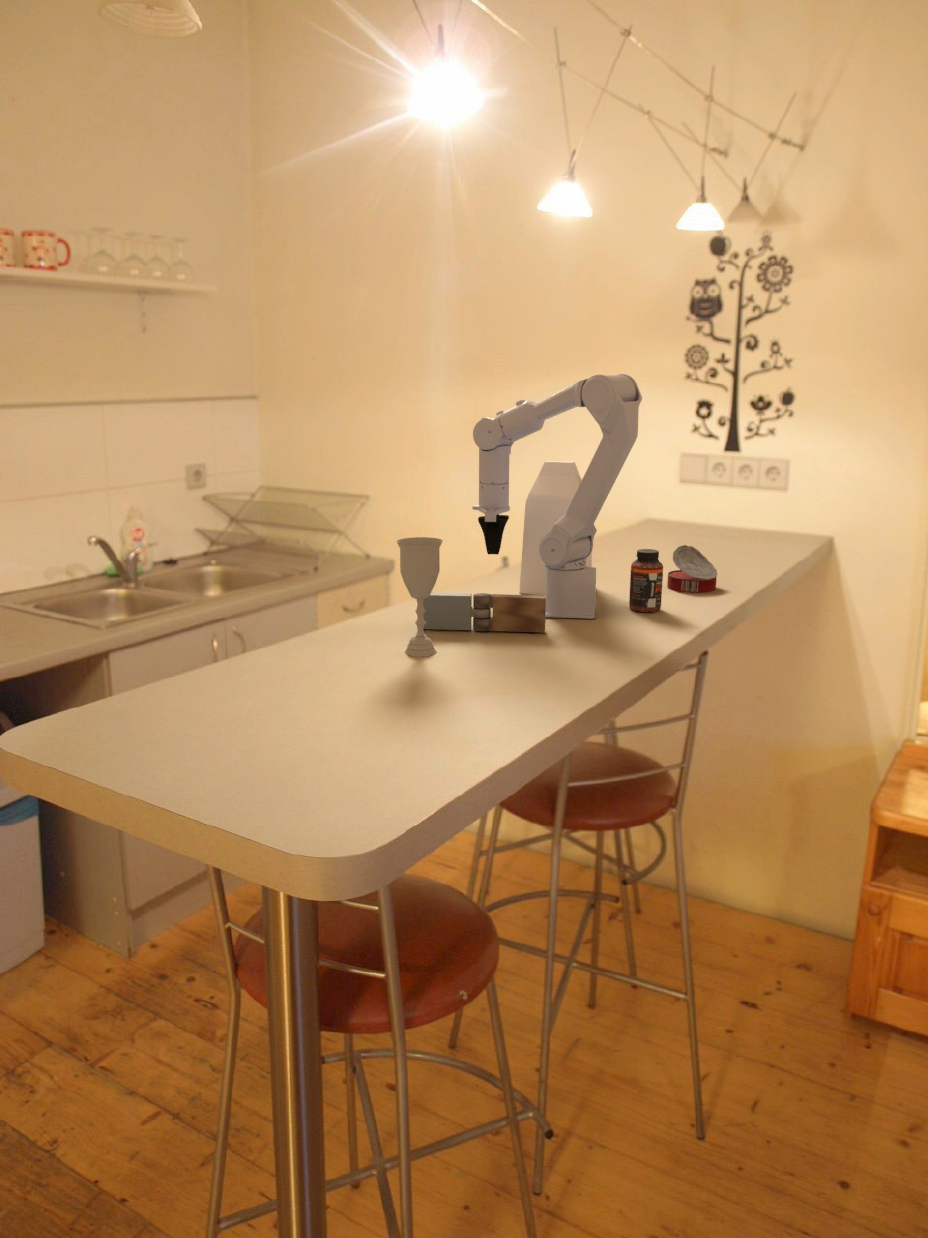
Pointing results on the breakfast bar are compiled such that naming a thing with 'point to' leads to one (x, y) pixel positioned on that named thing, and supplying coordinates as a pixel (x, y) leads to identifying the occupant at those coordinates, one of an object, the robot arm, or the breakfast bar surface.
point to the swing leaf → (451, 611)
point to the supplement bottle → (646, 582)
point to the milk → (545, 519)
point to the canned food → (691, 572)
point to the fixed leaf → (511, 612)
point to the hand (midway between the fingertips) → (493, 553)
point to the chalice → (420, 583)
